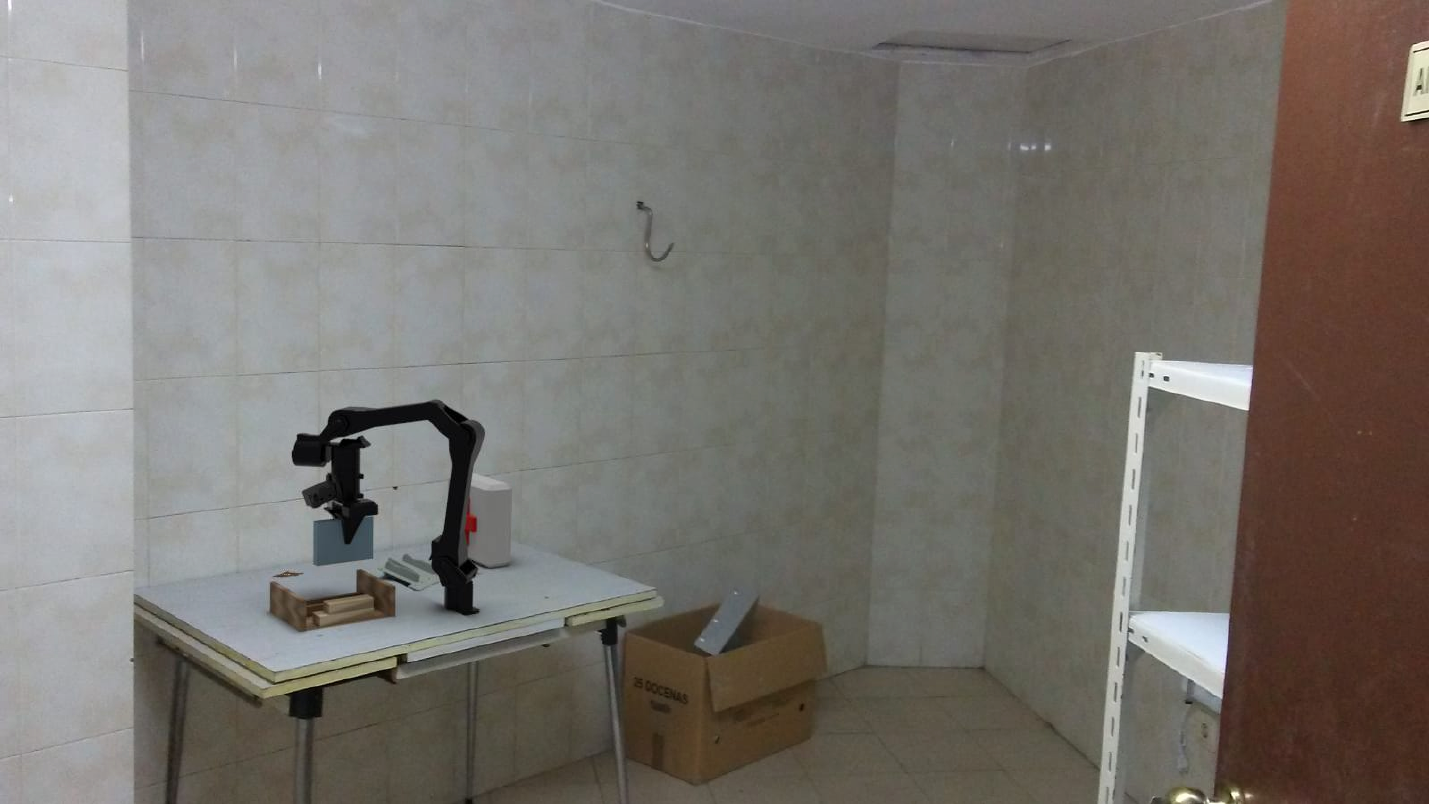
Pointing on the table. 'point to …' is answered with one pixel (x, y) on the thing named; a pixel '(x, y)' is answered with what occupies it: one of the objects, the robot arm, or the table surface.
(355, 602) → the upper offcut
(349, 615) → the lower offcut
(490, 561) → the bevelled white case
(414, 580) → the metal bracket
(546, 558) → the table surface
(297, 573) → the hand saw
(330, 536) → the panel
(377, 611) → the rack
